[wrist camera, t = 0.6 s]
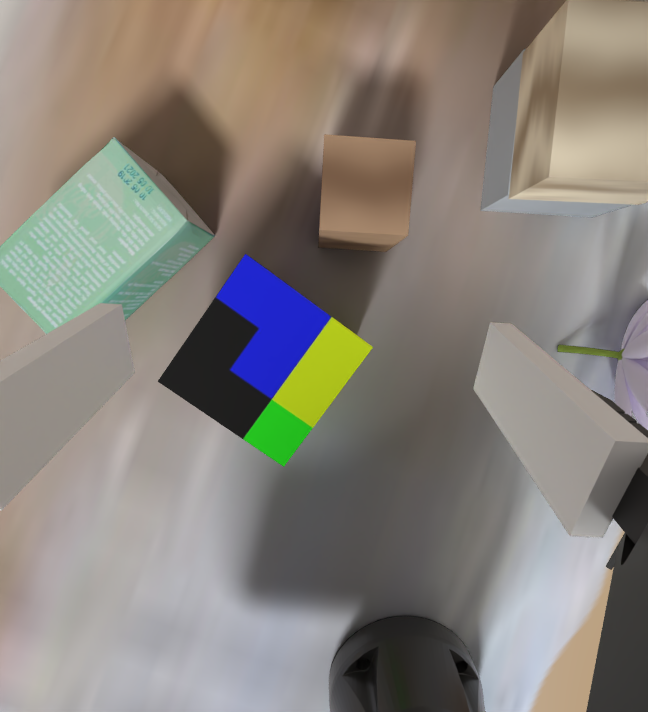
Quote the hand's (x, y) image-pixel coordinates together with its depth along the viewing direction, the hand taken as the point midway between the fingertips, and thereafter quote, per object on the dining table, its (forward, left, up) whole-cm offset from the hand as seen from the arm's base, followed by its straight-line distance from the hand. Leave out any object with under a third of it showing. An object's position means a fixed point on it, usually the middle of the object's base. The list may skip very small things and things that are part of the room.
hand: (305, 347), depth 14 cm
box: (+5, +16, -21) cm, 27 cm away
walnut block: (+10, -3, -21) cm, 23 cm away
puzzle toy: (-2, +3, -21) cm, 21 cm away
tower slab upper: (+15, -19, -16) cm, 29 cm away
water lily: (-2, -28, -21) cm, 35 cm away
